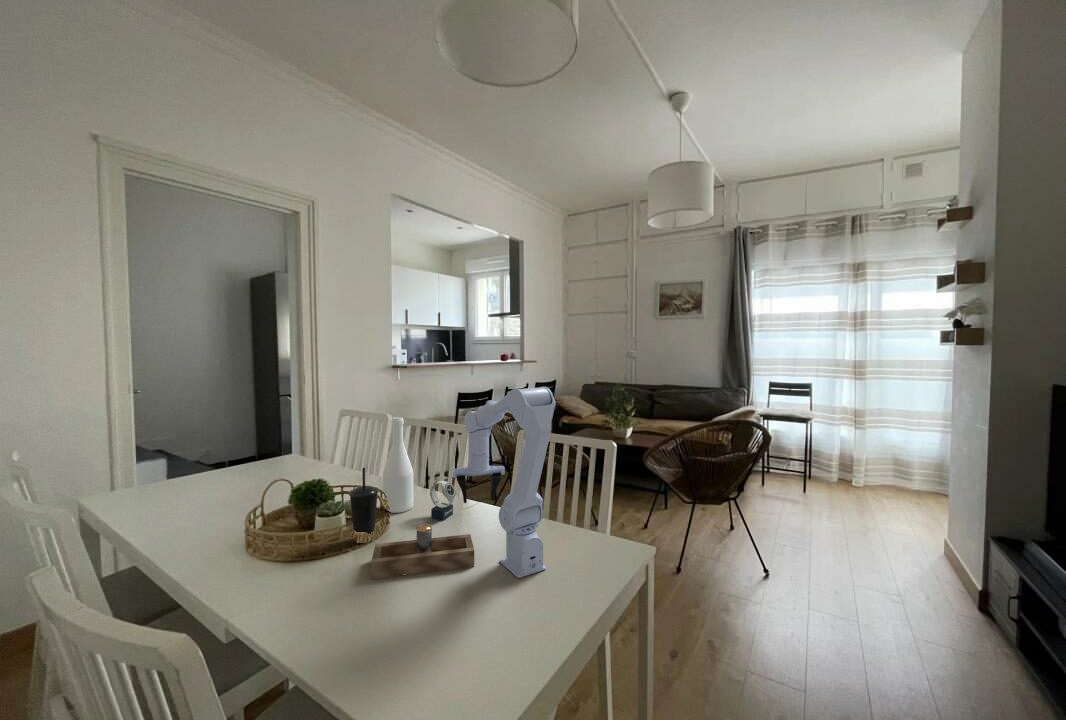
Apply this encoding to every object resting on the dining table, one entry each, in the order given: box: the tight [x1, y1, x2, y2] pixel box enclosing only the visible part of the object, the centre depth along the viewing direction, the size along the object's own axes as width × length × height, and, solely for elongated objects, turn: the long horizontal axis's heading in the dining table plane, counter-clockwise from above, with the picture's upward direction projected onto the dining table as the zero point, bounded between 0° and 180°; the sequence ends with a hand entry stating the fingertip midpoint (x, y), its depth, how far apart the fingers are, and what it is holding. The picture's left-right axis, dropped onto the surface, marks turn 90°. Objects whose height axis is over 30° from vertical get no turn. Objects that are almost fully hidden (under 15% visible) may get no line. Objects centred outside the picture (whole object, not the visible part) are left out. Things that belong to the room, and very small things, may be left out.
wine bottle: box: [382, 416, 414, 514], centre depth 140 cm, size 10×10×30 cm
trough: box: [370, 533, 475, 580], centre depth 105 cm, size 24×9×4 cm, turn 104°
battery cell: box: [416, 523, 433, 554], centre depth 105 cm, size 4×4×8 cm
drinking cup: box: [348, 467, 380, 534], centre depth 117 cm, size 8×8×20 cm
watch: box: [429, 480, 456, 522], centre depth 134 cm, size 6×8×11 cm
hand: (478, 500), depth 120 cm, fingers open, 7 cm apart
